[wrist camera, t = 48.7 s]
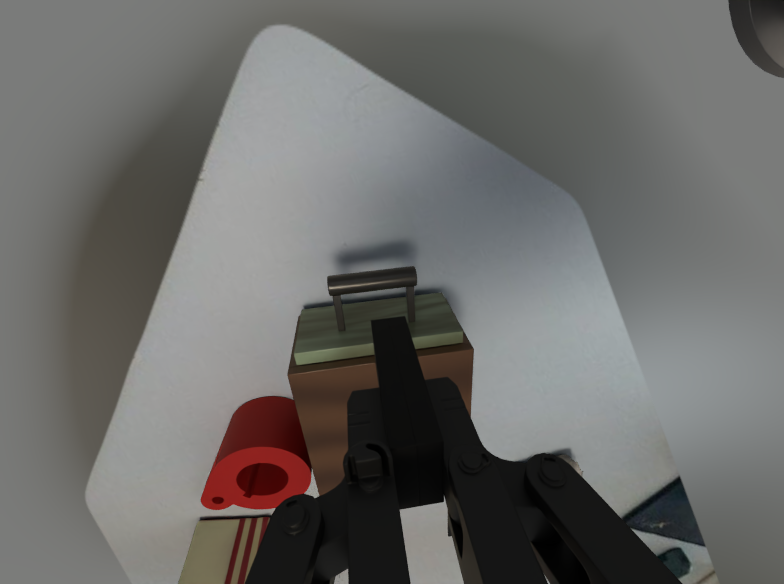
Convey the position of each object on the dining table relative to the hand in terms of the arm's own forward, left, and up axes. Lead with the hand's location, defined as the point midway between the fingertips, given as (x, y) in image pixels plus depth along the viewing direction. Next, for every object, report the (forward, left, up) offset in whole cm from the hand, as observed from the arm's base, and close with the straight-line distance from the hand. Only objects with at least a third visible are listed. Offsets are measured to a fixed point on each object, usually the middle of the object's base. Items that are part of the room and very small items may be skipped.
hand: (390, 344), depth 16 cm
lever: (+16, +26, -19) cm, 36 cm away
